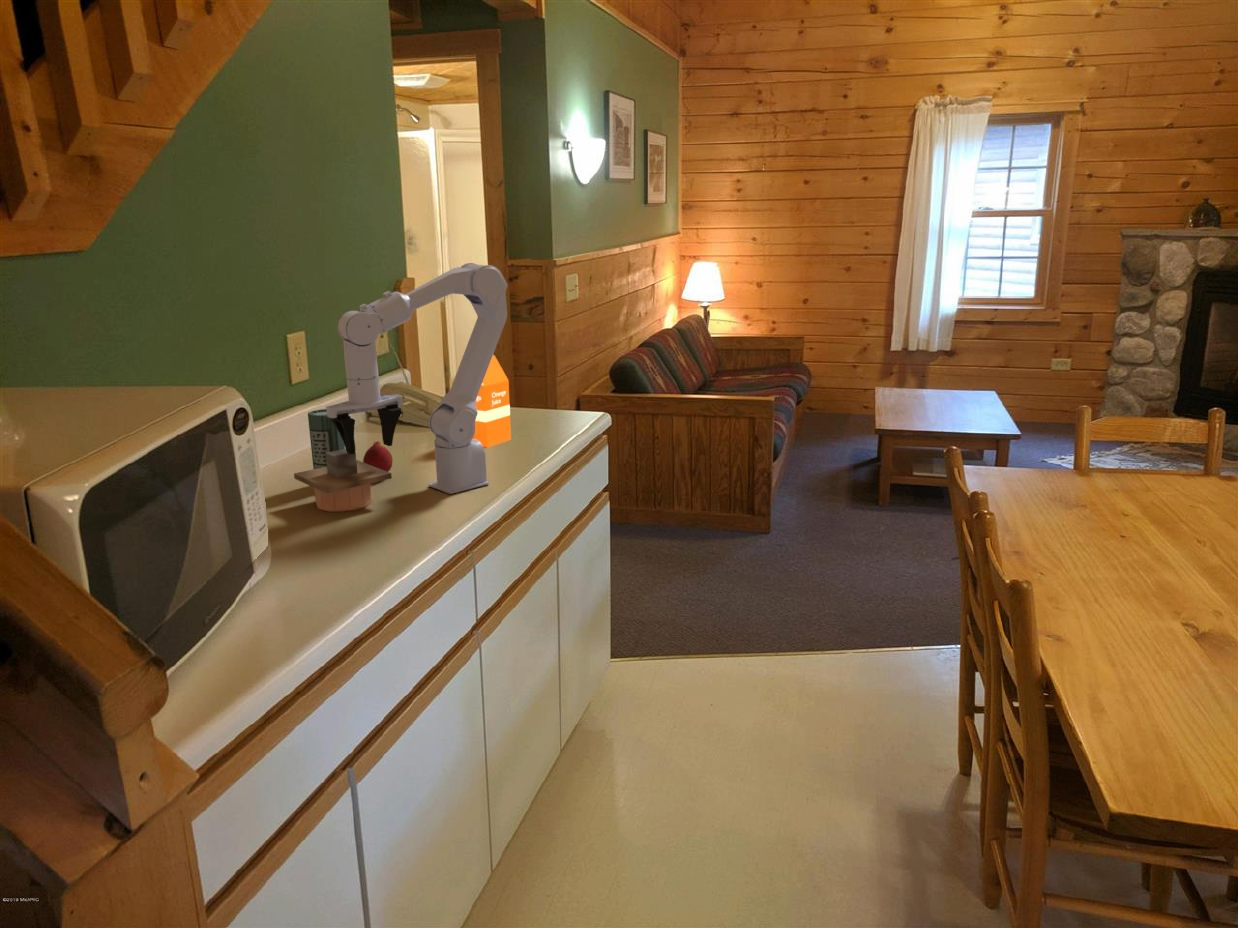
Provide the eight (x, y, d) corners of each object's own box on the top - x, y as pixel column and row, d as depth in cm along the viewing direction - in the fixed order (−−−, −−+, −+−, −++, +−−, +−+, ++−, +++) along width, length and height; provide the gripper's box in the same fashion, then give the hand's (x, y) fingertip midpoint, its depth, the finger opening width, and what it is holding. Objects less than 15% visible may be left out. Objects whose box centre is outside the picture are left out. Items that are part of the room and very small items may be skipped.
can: (353, 481, 188) (346, 409, 184) (336, 490, 182) (329, 416, 178) (327, 479, 190) (319, 408, 186) (309, 488, 184) (302, 414, 180)
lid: (357, 465, 182) (355, 440, 180) (391, 478, 172) (389, 452, 171) (294, 478, 173) (291, 452, 172) (326, 493, 164) (323, 466, 162)
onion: (386, 483, 187) (383, 445, 184) (359, 482, 188) (356, 444, 186) (398, 475, 192) (395, 438, 190) (372, 474, 193) (369, 437, 191)
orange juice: (511, 439, 221) (508, 356, 215) (487, 447, 214) (483, 362, 208) (486, 435, 225) (482, 354, 219) (462, 443, 218) (457, 359, 212)
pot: (355, 492, 181) (353, 467, 180) (381, 503, 174) (379, 477, 173) (307, 503, 175) (304, 478, 173) (332, 515, 168) (329, 489, 166)
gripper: (387, 369, 177) (393, 438, 180) (315, 380, 167) (323, 452, 171) (406, 373, 172) (412, 444, 175) (333, 385, 162) (341, 459, 166)
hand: (369, 448), depth 173 cm, fingers open, 7 cm apart
